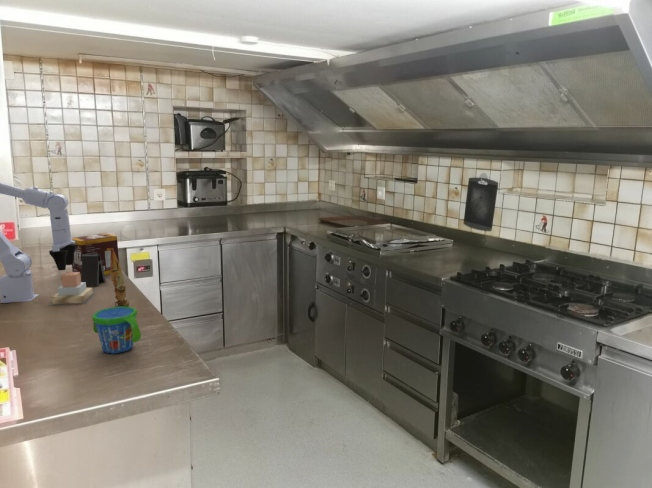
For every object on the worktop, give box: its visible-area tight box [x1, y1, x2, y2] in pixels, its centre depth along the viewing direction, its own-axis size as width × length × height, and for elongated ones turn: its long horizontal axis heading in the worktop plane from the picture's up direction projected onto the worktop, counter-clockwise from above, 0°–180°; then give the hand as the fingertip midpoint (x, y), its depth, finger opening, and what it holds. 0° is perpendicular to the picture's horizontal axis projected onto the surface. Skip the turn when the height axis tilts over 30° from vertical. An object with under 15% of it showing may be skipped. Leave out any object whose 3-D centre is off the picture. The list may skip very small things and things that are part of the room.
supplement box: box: [71, 232, 120, 278], centre depth 216 cm, size 10×15×16 cm
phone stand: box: [81, 254, 107, 288], centre depth 198 cm, size 9×6×12 cm, turn 2°
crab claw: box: [109, 248, 130, 307], centre depth 172 cm, size 7×5×20 cm
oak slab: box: [51, 287, 94, 305], centre depth 180 cm, size 10×10×2 cm
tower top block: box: [57, 282, 87, 296], centre depth 179 cm, size 7×7×2 cm
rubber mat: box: [48, 293, 97, 306], centre depth 180 cm, size 12×12×1 cm
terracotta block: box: [61, 271, 81, 287], centre depth 179 cm, size 4×4×4 cm
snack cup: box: [91, 306, 142, 355], centre depth 137 cm, size 16×10×10 cm
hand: (65, 267), depth 183 cm, fingers open, 7 cm apart
